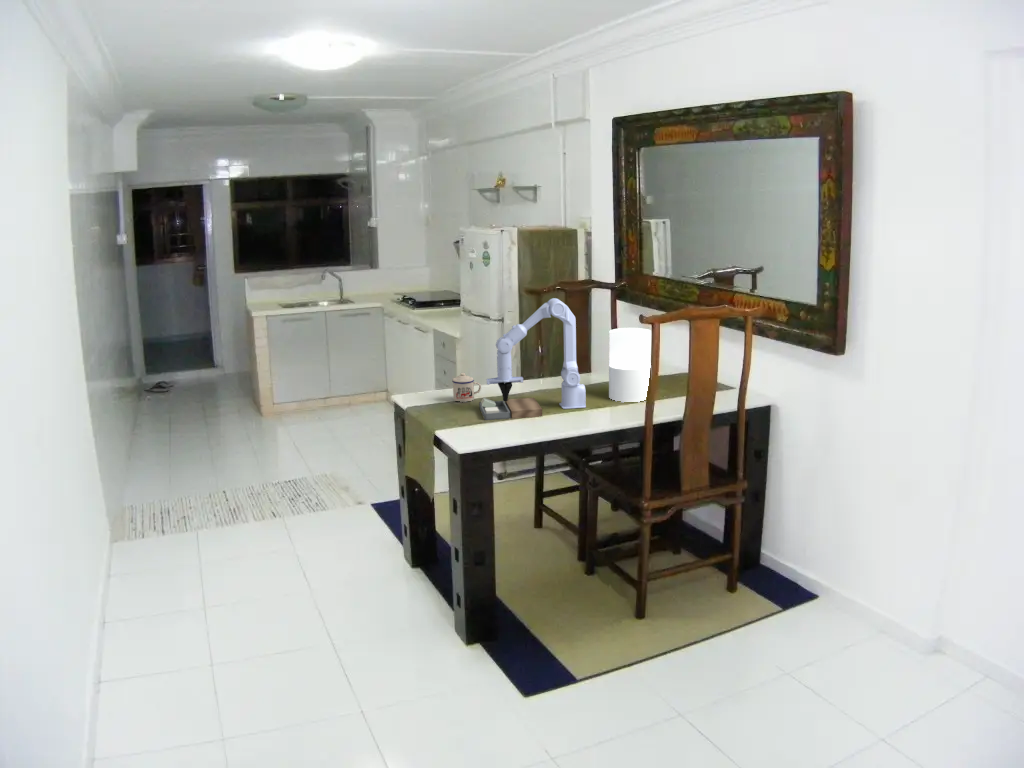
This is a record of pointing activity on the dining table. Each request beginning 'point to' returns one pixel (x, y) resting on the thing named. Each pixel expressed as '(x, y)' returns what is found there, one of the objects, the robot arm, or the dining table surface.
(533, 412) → the walnut plate
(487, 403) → the sage tile
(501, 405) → the box
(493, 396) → the dining table surface
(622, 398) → the cylinder
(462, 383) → the teacup with lid
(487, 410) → the cream tile
